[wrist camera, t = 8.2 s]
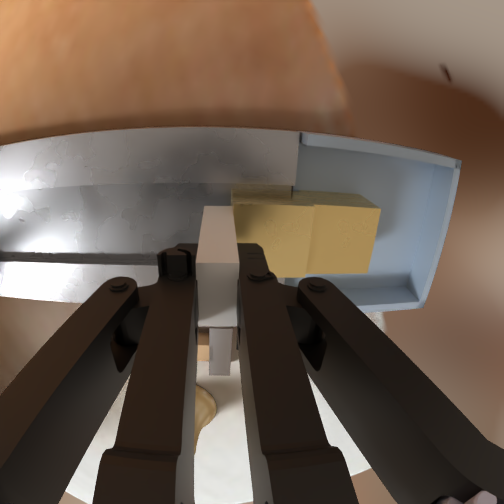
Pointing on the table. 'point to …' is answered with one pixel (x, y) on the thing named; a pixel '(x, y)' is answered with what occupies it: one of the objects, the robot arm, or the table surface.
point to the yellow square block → (275, 227)
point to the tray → (385, 212)
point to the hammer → (216, 349)
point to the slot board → (122, 200)
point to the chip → (341, 233)
